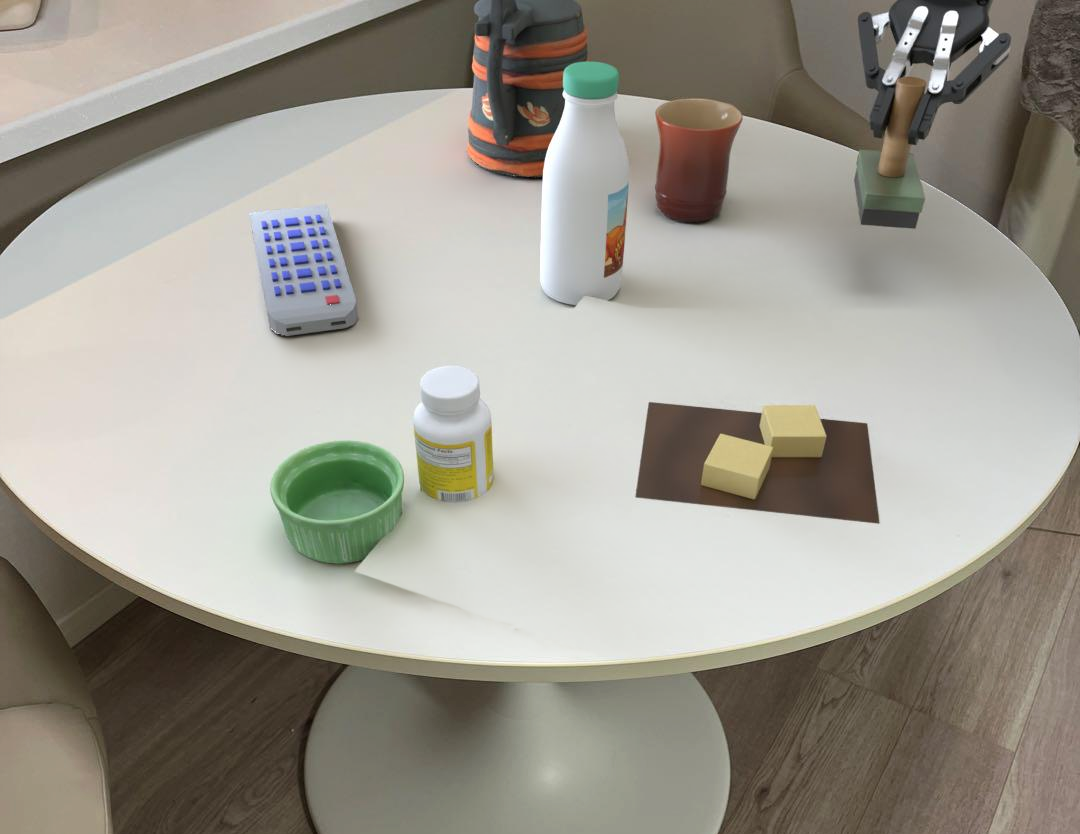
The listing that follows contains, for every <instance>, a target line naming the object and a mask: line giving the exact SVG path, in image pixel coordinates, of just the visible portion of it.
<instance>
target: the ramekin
mask: <svg viewBox="0 0 1080 834" xmlns="http://www.w3.org/2000/svg"><path fill="white" fill-rule="evenodd" d="M404 485H405V473H404V469H403V466H402V464H401V463H400V461H399V460H398V459H397V458H396V456H395V455H394V454H393V453H391V452H390V451H388V450H387V449H385V448H383V447H381V446H379V445H376V444H373V443H370V442H367V441H360V440H351V439H343V440H341V439H340V440H331V441H325V442H320V443H316V444H313V445H310V446H306V447H304V448H303V449H300V450H298V451H296V452H294V453H293V454H291V455H290V456H288V457H287V458H285V459H284V460H283V461H282V462H281V463H280V464H279V465H278V467H277V468H276V469H275V470H274V473H273V474H272V477H271V479H270V484H269V486H270V487H269V490H270V497H271V499H272V501H273V504H274V506H275V507H276V509H277V510H278V513H279V516H280V519H281V522H282V526H283V530H284V532H285V534H286V537H287V539H288V541H289V543H290V544H291V546H292V547H293V548H294V549H295V550H296V551H297V552H298V553H300V554H302V555H303V556H305V557H307V558H309V559H311V560H313V561H317V562H321V563H327V564H349V563H354V562H359V561H362V560H365V559H366V558H367V556H368V555H370V553H371V552H372V551H373V550H374V548H375V547H376V546H377V545H378V543H380V541H381V540H382V539H383V538H384V537H386V536H387V535H389V533H391V532H392V531H393V529H394V528H395V527H396V526H397V524H398V522H399V521H400V518H401V517H402V514H403V506H402V505H403V503H402V501H403V491H404Z"/></svg>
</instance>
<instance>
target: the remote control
mask: <svg viewBox="0 0 1080 834" xmlns="http://www.w3.org/2000/svg"><path fill="white" fill-rule="evenodd" d="M249 219H250V224H251V230H252V236H253V242H254V248H255V253H256V258H257V265H258V270H259V275H260V282H261V287H262V293H263V297H264V302H265V307H266V312H267V320H268V324H269V328H270V327H271V328H272V329H273V330H274V331H276V333H279V334H281V335H280V336H284V335H285V337H290V336H295V335H304V334H311V333H319V332H327V331H334V330H335V331H336V330H342V329H347V328H349V327H352V326H354V325H356V323H357V321H358V320H359V309H358V304H357V299H356V295H355V292H354V289H353V285H352V283H351V280H350V276H349V272H348V270H347V266H346V263H345V259H344V256H343V253H342V249H341V247H340V243H339V240H338V237H337V233H336V230H335V227H334V223H333V220H332V217H331V213H330V209H329V207H328V204H317V205H308V206H300V207H291V208H281V209H271V210H263V211H254V212H249ZM330 304H331V305H330ZM276 333H275V334H276ZM282 334H283V335H282Z"/></svg>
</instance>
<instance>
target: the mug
mask: <svg viewBox="0 0 1080 834" xmlns="http://www.w3.org/2000/svg"><path fill="white" fill-rule="evenodd" d="M654 115H655V120H656V126H657V130H658V136H659V153H658V161H657V169H656V179H655V185H654V191H655V201H656V207H657V209H658V210H659V212H660V213H662V214H663V215H664V216H665V217H667V218H669V219H671V220H674V221H677V222H683V223H701V222H705V221H709V220H711V219H713V218H714V217H716V216H717V215H718V214H719V213H720V212H721V211H722V208H723V203H724V201H725V197H726V195H727V192H728V191H727V187H728V179H729V169H730V159H731V152H732V147H733V144H734V141H735V139H736V135H737V133H738V131H739V129H740V126H741V125H742V123H743V118H744V116H743V114H742V111H741V110H739V109H738V108H737V107H736V106H735V105H734V104H732V103H729V102H724V101H723V102H722V101H719V100H714V99H710V98H695V97H694V98H693V97H692V98H679V99H674V100H669V101H666V102H664V103H662V104H660V105H659V106H658V107H657V108H656V109H655V114H654Z"/></svg>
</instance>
